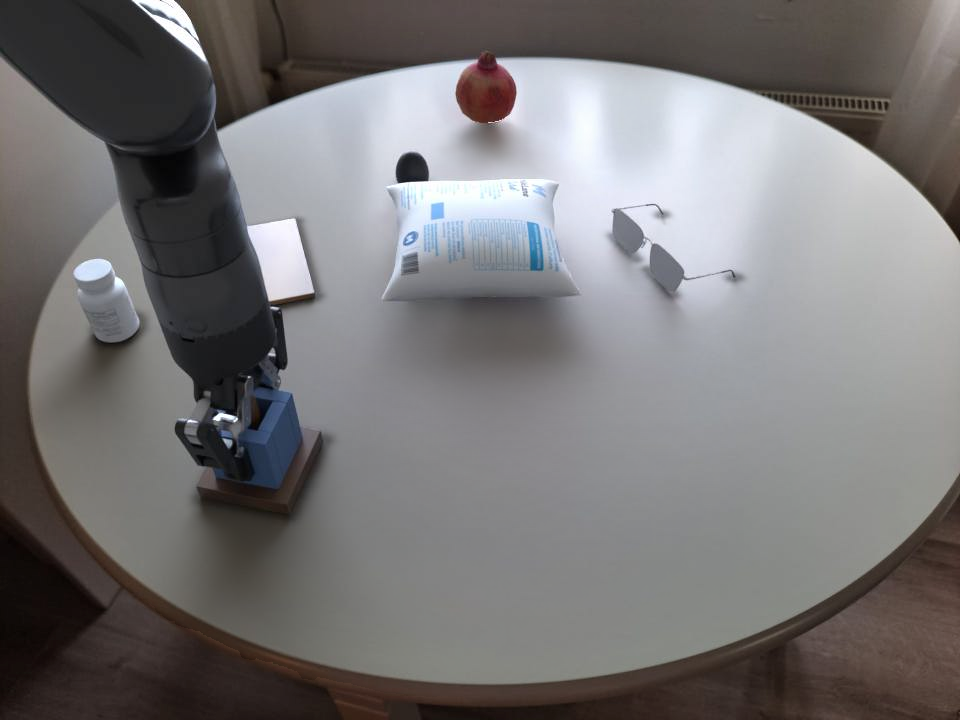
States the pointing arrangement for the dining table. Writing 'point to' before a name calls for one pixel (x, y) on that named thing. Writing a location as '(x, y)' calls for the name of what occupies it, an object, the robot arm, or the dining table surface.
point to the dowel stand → (259, 495)
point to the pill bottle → (105, 301)
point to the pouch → (477, 241)
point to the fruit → (486, 90)
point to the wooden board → (282, 261)
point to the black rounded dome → (411, 168)
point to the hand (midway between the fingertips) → (256, 446)
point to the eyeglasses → (660, 259)
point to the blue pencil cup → (270, 438)
